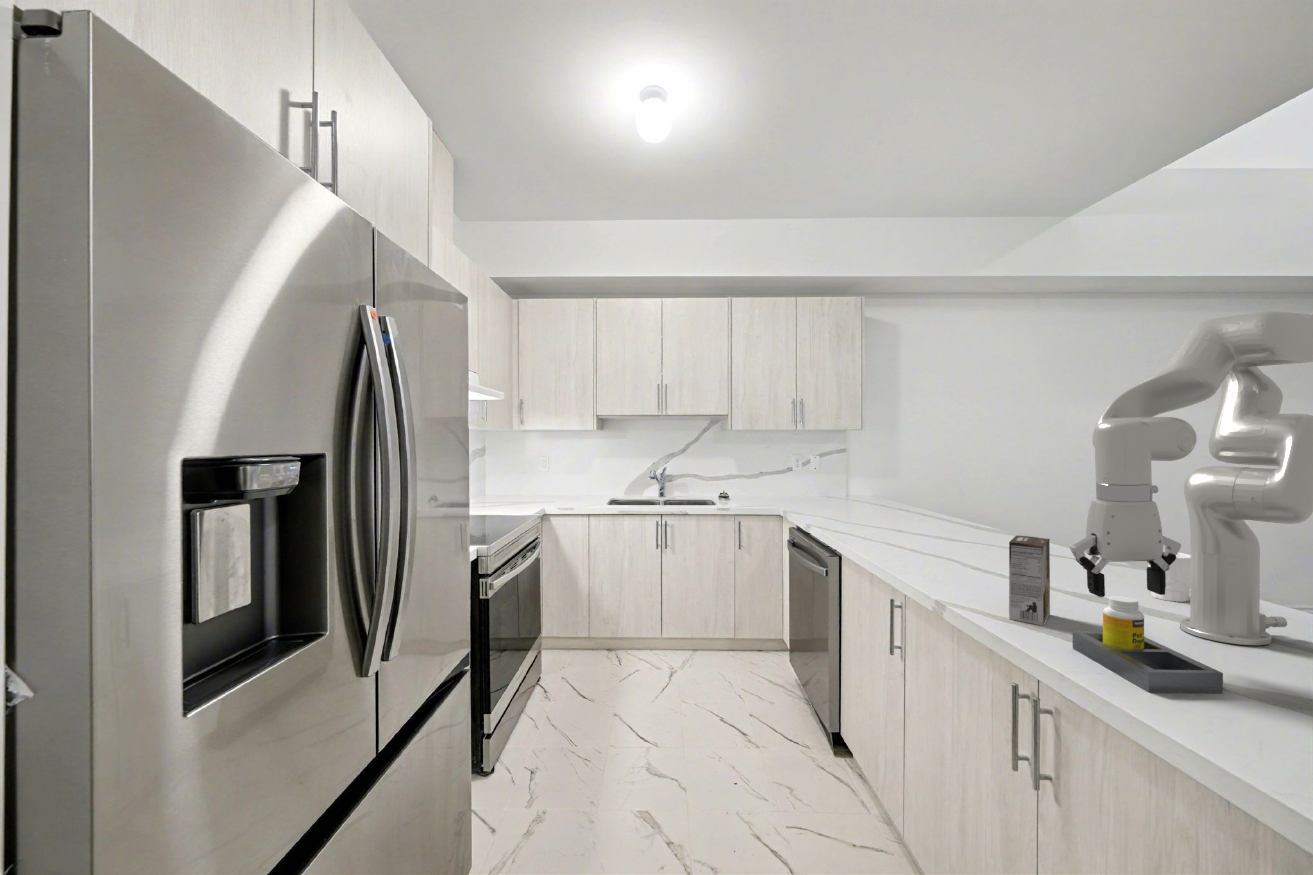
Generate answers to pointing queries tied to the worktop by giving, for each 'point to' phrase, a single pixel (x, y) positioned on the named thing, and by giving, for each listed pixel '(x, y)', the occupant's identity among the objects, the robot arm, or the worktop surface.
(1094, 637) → the dark grey divided tray
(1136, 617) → the supplement bottle
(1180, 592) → the white cup
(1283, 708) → the worktop surface
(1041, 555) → the coffee box
